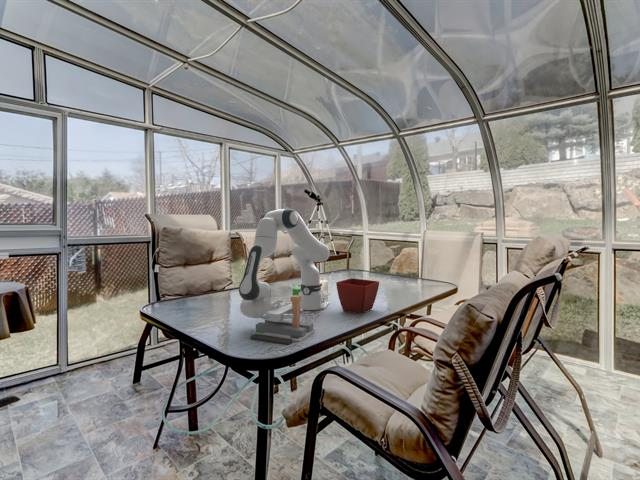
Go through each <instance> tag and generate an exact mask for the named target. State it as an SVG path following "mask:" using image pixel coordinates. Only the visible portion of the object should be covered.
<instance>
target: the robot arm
mask: <svg viewBox="0 0 640 480" xmlns="http://www.w3.org/2000/svg"><path fill="white" fill-rule="evenodd" d="M255 230H256V231H255V236H254V242H253V245H252V247H251V249H250V251H249V253H248V257H247V260H246V264H245V269H244V272H243V273H244V274H243V277H242V278H241V281H240V283H239V286H238V293H239V296H240V298H242V299H243V300H242V301H241V303H240V306H239V308H240V312H241V314H242V315H243V316H245V317H246V318H247V317H248V318H251V319H258V320H259V319H262V320H264V321H265V320H268V321H273V322H279V321H281V320H292V318H294V314H292V302H289V301H288V302H287V301H285V302H284V300H276V301H273V300H270V299H271V295H272V287H271V285H270V284H269V283H268V282H267V281H263V280H258V275H259V270H260V265H261V262H262V261H263V259H265V258H268V257H270V256H271V255H273V254H274V253H275V251H276V249H277V243H278V242H277V241H278V232H279V231H283V230H285V231H286V232H287V233H288V235H289V237H290V239H291V241H292V242H293V243H294V245H293V246H292V249H291V250H292V251H291V253H292V256H293V257H294V259H295V260H296V261H297V263H298V267H299V268H300V269H299V270H300V276H301V278H300V279H301V281H300V282H301V283H300V288H299V289H300V291H299V292H298V295H301V296H302V301H300V315H301V314H303V312H304V310H305V311H316V310H325V309H326V308H327V307H328V306H329V305H330V302H329V301H327V300H326V294H325V293H324V292H323V290H322V288H323V283H322V282H321V283H320V281H321V280H320V279H321V278H320V275H321V274H320V273H321V272H320V270H319V268H318V267H317V266H316V265H315V263H321V262H326V261H327V260H328V259H329V258H330V255H331V253H330V248H329V246H328V245H326V244H324V243H323V242H322V241H320V240H318V238H316V237H315V236H314V235H313V234H312V233H311V231H310V229H309V228H308V226H307V225H306V223H305V221H304V219H303V218H302V217H301V215H300V214H299V212H298V211H296V210H294V208H293V209H292V208H279V209H275V210H270V211H268V210H267V211H266V212H264V213H262V215H261V217H260V219H259V221H258V223H257V227H256V229H255Z"/></svg>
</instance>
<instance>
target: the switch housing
mask: <svg viewBox="0 0 640 480" xmlns="http://www.w3.org/2000/svg"><path fill="white" fill-rule="evenodd" d="M315 331H316V328H314V323H312V322H304V321H300V327H293V326H292V320H290V319H283V320H281V321H279V322H273V321H268V320H264V321H263V322H262V321H260V322H258V323H256V324H255V331H253V332H252V335H254V334H261V335H268V336H275V337H281V338H288V339H292V340H293V341H295V342H301V341H303V340H305V339H306V338H307V337H309V336H310V335H311V334H312V333H314V332H315Z"/></svg>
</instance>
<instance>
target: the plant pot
mask: <svg viewBox="0 0 640 480" xmlns="http://www.w3.org/2000/svg"><path fill="white" fill-rule="evenodd" d="M335 283H336V290H337V295H338V299H339V302H340V305H341V309H342V311H344V312H348V311H349V313H353V312H356V313H355V314H359V313H363V314H365V313H367V312H366V311H368V310H370V309H372V310H373V307H374V305H375V302H376V298H377V294H378V291H379V286H380V281H379V280H378V281H377V280H368V279H360V278H352V277H351V278H347V279H344V280H340V281H336V282H335ZM370 311H371V310H370ZM364 312H365V313H364ZM368 312H369V311H368Z"/></svg>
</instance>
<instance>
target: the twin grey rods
mask: <svg viewBox="0 0 640 480" xmlns="http://www.w3.org/2000/svg"><path fill="white" fill-rule="evenodd" d="M250 339H251V340H255V341H256V340H257V341H264V342H268V343H269V342H271V343H276V344H282V345H290V344H292V343H293V341H294V340H292V339H288V338H281V337H275V336H268V335H261V334H251V335H250Z"/></svg>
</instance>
